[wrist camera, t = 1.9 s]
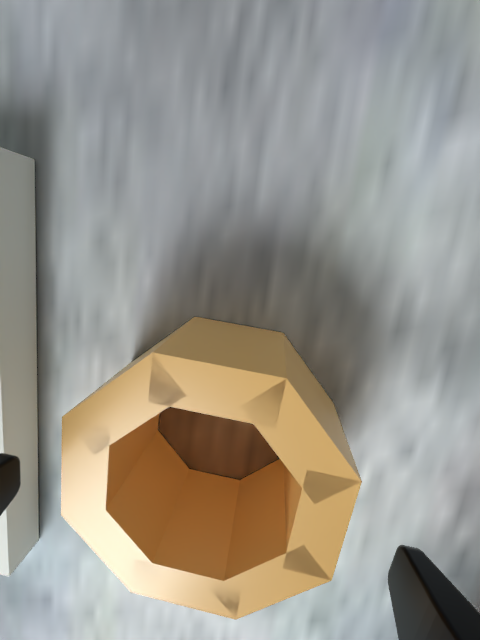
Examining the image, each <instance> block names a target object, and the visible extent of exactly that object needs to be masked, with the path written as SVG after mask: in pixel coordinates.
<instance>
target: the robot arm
mask: <svg viewBox="0 0 480 640" xmlns="http://www.w3.org/2000/svg"><path fill="white" fill-rule="evenodd" d="M20 485H21V472H20V459H19V457H17V456H14V455H10V454H6V453H0V516H1V515H2V513H3V512H4V511H5V509H6V508H7V507H8V505H9V504H10V503H11V501H12V500H13V499H14V497H15V496H16V495H17V493H18V491H19V488H20ZM388 585H389V590H390V596H391V601H392V606H393V612H394V617H395V622H396V627H397V633H398V638H399V640H480V613H479V612H478V611H477V610H476V609H475V608H474V607H473V606H472V605H471V604H470V603H469V601H468V600H467V599H466V598H465V597H464V596H463V595H462V594H461V593H460V592H459V591H458V590H457V588H456V587H455V586H454V585H453V584H452V583H451V582H450V581H449V580H448V579H447V578H446V577H445V575H444V574H443V573H442V572H441V571H440V570H439V569H438V568H437V567H436V566H435V565H434V564H433V562H432V561H431V560H430V559H429V558H428V557H427V556H426V555H425V554H424V553H423V552H422V551H421V550H420V549H417V548H414V547H409V546H405V545H400V546H399V547H398V548H397V550H396V553H395V556H394V558H393V561H392V564H391V567H390V569H389V573H388Z"/></svg>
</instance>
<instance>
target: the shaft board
mask: <svg viewBox="0 0 480 640" xmlns="http://www.w3.org/2000/svg"><path fill="white" fill-rule="evenodd" d="M0 453H6V454H10V455H14V456H17V457H19V459H20V472H21V485H20V488H19V491H18V493H17V495H16V496H15V497H14V499H13V500H12V501H11V503H10V504H9V505H8V507H7V508H6V509H5V511H4V512H3V513H2V515H1V516H0V574H1V575H4V576H8V577H9V576H10V575H11V574H12V573H13V571H14V570H15V569H16V568H17V567H18V565H19V564H20V563H21V562H22V560H23V559H24V558H25V557H26V555H27V554H28V553H29V552H30V551H31V549H32V548H33V547H34V546H35V544H36V543H37V542H38V541H39V507H38V416H37V325H36V234H35V159H32V158H29V157H26V156H24V155H21V154H18V153H15V152H13V151H10V150H7V149H4V148H2V147H0Z"/></svg>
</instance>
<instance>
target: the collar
mask: <svg viewBox="0 0 480 640" xmlns="http://www.w3.org/2000/svg"><path fill="white" fill-rule="evenodd" d="M168 407H174V408H179V409H183V410H188V411H193V412H198V413H203V414H208V415H213V416H217V417H222V418H227V419H232V420H237V421H242V422H246V423H251V424H254V425H255V427H256V428H257V429H258V430H259V432H260V433H261V434H262V436H263V437H264V438H265V440H266V441H267V442H268V444H269V445H270V446H271V448H272V449H273V450H274V451H275V453H276V454H277V455H278V457H279V458H280V459H278V460H276V461H275V462H273V463H271V464H269V465H267V466H265V467H263V468H261V469H260V470H258V471H256V472H254V473H252V474H250V475H248V476H247V477H245V478H243V479H241V480H237V479H233V478H228V477H224V476H219V475H215V474H210V473H206V472H201V471H197V470H192V469H189V468H188V467H187V465H186V464H185V463H184V462H183V460H182V459H181V458H180V457H179V455H178V454H177V453H176V452H175V451H174V449H173V448H172V447H171V446H170V444H169V443H168V442H167V441H166V440H165V438H164V437H163V436H162V435H161V433H160V432H159V431H158V423H159V413H160V412H162V411H163V410H165V409H166V408H168ZM361 482H362V481H361V478H360V475H359V473H358V470H357V467H356V464H355V462H354V459H353V456H352V453H351V451H350V448H349V445H348V442H347V440H346V437H345V434H344V431H343V428H342V426H341V423H340V420H339V417H338V415H337V412H336V409H335V406H334V404H333V402H332V400H331V399H330V398H329V396H328V395H327V393H326V392H325V391H324V389H323V388H322V386H321V385H320V384H319V382H318V381H317V379H316V378H315V377H314V375H313V374H312V372H311V371H310V370H309V368H308V367H307V365H306V364H305V362H304V361H303V360H302V358H301V357H300V355H299V354H298V353H297V351H296V350H295V348H294V347H293V346H292V344H291V343H290V341H289V340H288V339H287V337H286V336H285V334H284V333H282V332H277V331H271V330H266V329H260V328H255V327H249V326H244V325H238V324H233V323H227V322H222V321H216V320H211V319H205V318H200V317H194V318H192V319H191V320H189V321H188V322H187V323H185V324H184V325H182V326H181V327H180V328H178V329H177V330H175V331H174V332H173V333H171V334H170V335H169V336H167V337H166V338H164V339H163V340H162V341H160V342H159V343H157V344H156V345H155V346H153V347H152V348H150V349H149V350H148V351H146V352H145V353H144V354H142V355H141V356H139V357H138V358H137V359H135V360H134V361H132V362H131V363H130V364H128V365H127V366H126V367H125V368H123V369H122V370H121V371H120V372H118V373H117V374H116V375H115V376H113V377H112V378H111V379H109V380H108V381H107V382H106V383H104V384H103V385H102V386H101V387H99V388H98V389H97V390H96V391H94V392H93V393H92V394H91V395H89V396H88V397H87V398H85V399H84V400H83V401H82V402H80V403H79V404H78V405H77V406H75V407H74V408H73V409H72V410H70V411H69V412H68V413H66V414H65V415H64V416H63V417H62V467H61V516H62V517H63V518H64V519H65V520H66V521H67V522H68V523H69V525H70V526H71V527H72V528H73V529H74V530H75V531H76V532H77V533H78V534H79V536H80V537H81V538H82V539H83V540H84V541H85V542H86V543H87V544H88V546H89V547H90V548H91V549H92V550H93V551H94V552H95V553H96V554H97V555H98V557H99V558H100V559H101V560H102V561H103V562H104V563H105V564H106V565H107V567H108V568H109V569H110V570H111V571H112V572H113V573H114V574H115V575H116V577H117V578H118V579H119V580H120V581H121V582H122V583H123V584H124V585H125V586H126V588H127V589H128V590H129V591H130V592H131V593H135V594H139V595H143V596H146V597H150V598H154V599H158V600H162V601H166V602H170V603H174V604H177V605H181V606H185V607H189V608H193V609H197V610H201V611H205V612H209V613H212V614H216V615H220V616H224V617H228V618H232V619H238V618H241V617H243V616H246V615H248V614H251V613H253V612H255V611H258V610H260V609H263V608H265V607H268V606H270V605H273V604H275V603H277V602H280V601H282V600H285V599H287V598H290V597H292V596H295V595H297V594H299V593H302V592H304V591H307V590H309V589H312V588H314V587H317V586H319V585H321V584H324V583H326V582H329V581H331V580H332V577H333V574H334V571H335V567H336V564H337V561H338V557H339V554H340V551H341V548H342V544H343V541H344V538H345V535H346V531H347V528H348V525H349V521H350V518H351V515H352V512H353V508H354V505H355V502H356V499H357V495H358V492H359V489H360V485H361Z"/></svg>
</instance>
